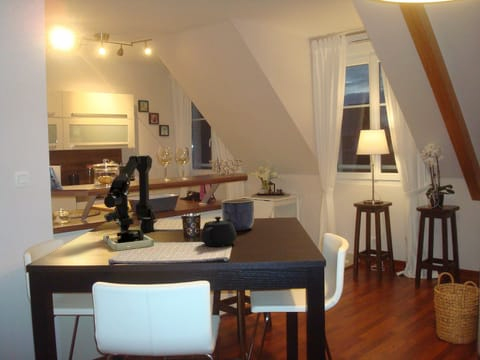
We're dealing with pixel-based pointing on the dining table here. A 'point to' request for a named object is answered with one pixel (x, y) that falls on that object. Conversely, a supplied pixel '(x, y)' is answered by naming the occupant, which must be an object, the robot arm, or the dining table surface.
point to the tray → (131, 244)
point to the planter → (239, 213)
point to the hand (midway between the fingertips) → (123, 237)
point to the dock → (106, 238)
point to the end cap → (130, 236)
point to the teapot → (218, 233)
